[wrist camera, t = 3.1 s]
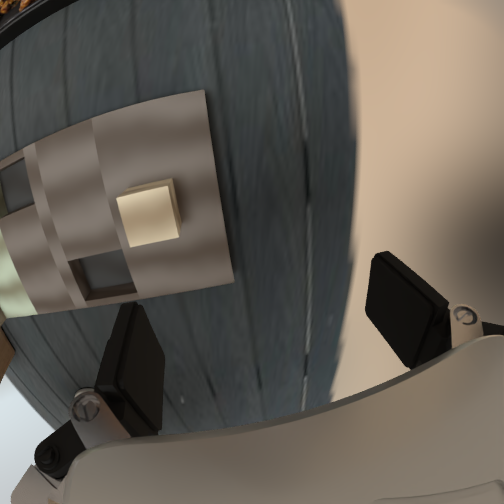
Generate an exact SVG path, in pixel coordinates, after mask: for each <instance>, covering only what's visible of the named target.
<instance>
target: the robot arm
mask: <svg viewBox="0 0 504 504" xmlns="http://www.w3.org/2000/svg"><path fill="white" fill-rule="evenodd" d="M448 305H449V302H448V301H447V300H446V299H445V298H444V297H443V296H442V295H440V294H439V293H438V292H437V291H436V290H435V289H434V288H433V287H431V286H430V285H429V284H428V283H427V282H426V281H425V280H423V279H422V278H421V277H420V276H419V275H417V274H416V273H415V272H414V271H413V270H411V269H410V268H409V267H408V266H406V265H405V264H404V263H403V262H402V261H400V260H399V259H398V258H397V257H395V256H394V255H393V254H391V253H390V252H389V251H385V252H380V253H377V254H375V256H374V258H372V260H371V269H370V277H369V285H368V292H367V299H366V306H365V312H366V315H367V316H368V318H369V319H370V320H371V322H372V323H373V324H374V325H375V327H376V328H377V329H378V331H379V332H380V333H381V335H382V336H383V337H384V339H385V340H386V341H387V342H388V344H389V345H390V346H391V348H392V349H393V351H394V352H395V353H396V355H397V356H398V357H399V359H400V360H401V361H402V363H403V364H404V365H405V366H406V367H409V368H410V369H411V370H410V371H408V372H406V373H404V374H402V375H400V376H398V377H396V378H393V379H391V380H389V381H387V382H384V383H382V384H379V385H377V386H375V387H372V388H370V389H367V390H365V391H362V392H360V393H357V394H354V395H352V396H349V397H346V398H343V399H340V400H338V401H335V402H332V403H329V404H325V405H322V406H319V407H316V408H313V409H309V410H306V411H302V412H299V413H295V414H291V415H287V416H283V417H279V418H275V419H271V420H266V421H262V422H257V423H252V424H247V425H241V426H236V427H230V428H223V429H216V430H208V431H200V432H192V433H182V434H171V435H158V430H161V429H162V405H163V384H164V368H165V356H164V353H163V350H162V348H161V346H160V344H159V342H158V340H157V338H156V336H155V333H154V331H153V329H152V327H151V324H150V322H149V320H148V318H147V315H146V313H145V311H144V308H143V306H142V305H138V304H137V302H129V303H123V304H122V305H121V307H120V310H119V313H118V316H117V319H116V322H115V325H114V328H113V331H112V334H111V337H110V339H109V340H108V342H107V345H106V348H105V351H104V355H103V358H102V362H101V365H100V369H99V373H98V376H97V380H96V384H95V388H94V389H92V388H85V389H80V390H78V391H77V392H76V394H75V398H74V399H73V400H72V402H71V403H70V406H69V417H70V420H69V421H68V422H66V423H65V424H64V425H63V426H61V427H60V428H59V429H57V430H56V431H55V432H54V433H52V434H51V435H50V436H48V437H47V438H46V439H45V440H43V441H42V442H41V443H40V444H39V445H38V446H37V448H36V450H35V454H34V459H35V463H36V465H35V466H33V465H30V467H29V468H28V470H27V471H26V473H25V474H24V476H23V477H22V479H21V480H20V482H19V483H18V485H17V486H16V488H15V489H14V491H13V492H12V495H11V504H504V326H501V325H496V324H492V323H487V322H482V321H481V317H480V315H479V313H478V312H477V310H475V309H474V308H473V307H471V306H469V305H466V304H456V305H454V306H453V307H452V308H451V309H450V310H449V309H448Z"/></svg>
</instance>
